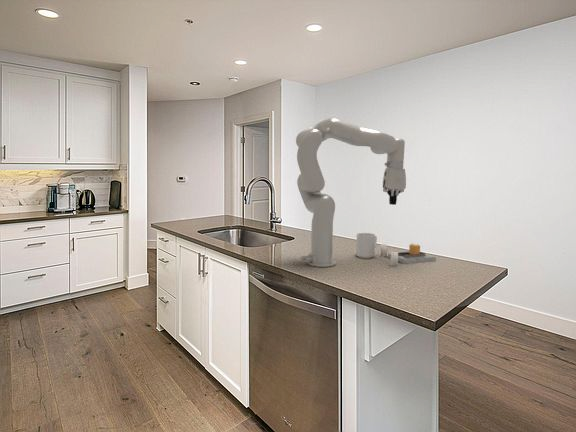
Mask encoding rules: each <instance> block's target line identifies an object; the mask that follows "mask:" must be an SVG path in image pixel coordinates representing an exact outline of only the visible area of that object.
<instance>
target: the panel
mask: <svg viewBox="0 0 576 432" xmlns="http://www.w3.org/2000/svg"><path fill="white" fill-rule="evenodd" d="M387 258H388V259H390V260H391V253H387ZM436 261H437V257H436V256H434V255H430V254H428V253H426V252H424V251H423V252H422V251H420V254H414V255H412V254H409V251H403V252H402V251H401V252H398V263H400V264H403V265H404V264H416V263H428V262H429V263H430V262H436Z"/></svg>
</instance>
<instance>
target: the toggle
mask: <svg viewBox="0 0 576 432" xmlns="http://www.w3.org/2000/svg"><path fill="white" fill-rule="evenodd" d="M408 247H409V248H408V249H409V251H408V252H409V254H412V255H414V254H420V252H421V245H420V244H419V243H415V242H413V243H410V244H409V246H408Z"/></svg>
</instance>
